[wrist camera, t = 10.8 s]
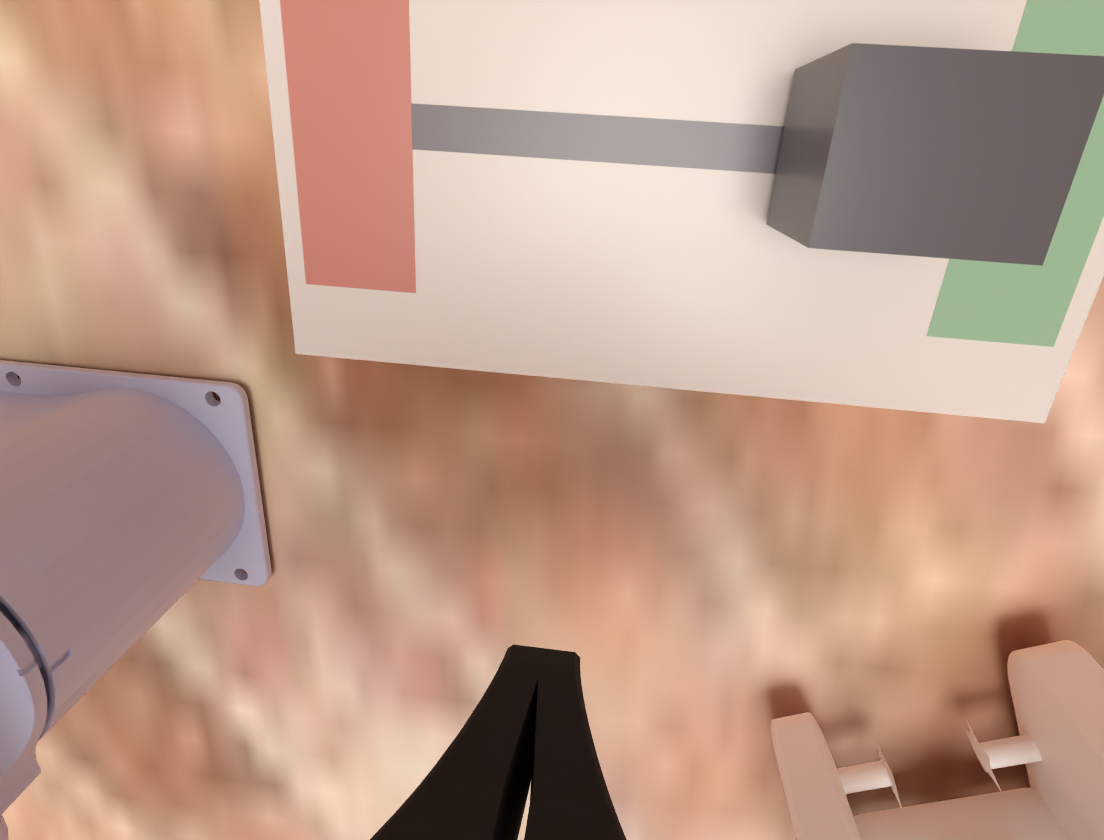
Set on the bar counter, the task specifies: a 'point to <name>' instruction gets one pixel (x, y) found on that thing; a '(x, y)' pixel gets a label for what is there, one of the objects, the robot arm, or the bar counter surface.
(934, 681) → the bar counter surface
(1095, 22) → the switch plate
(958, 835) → the cable organizer
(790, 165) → the knob
